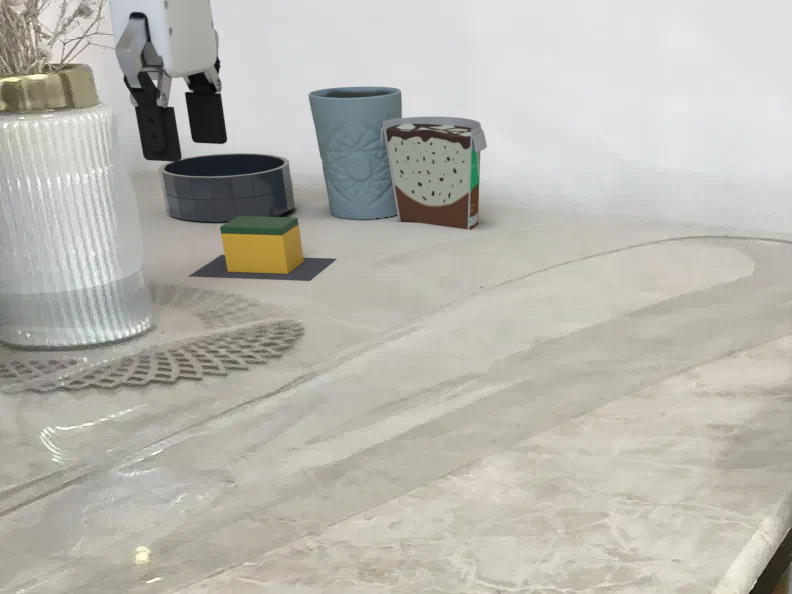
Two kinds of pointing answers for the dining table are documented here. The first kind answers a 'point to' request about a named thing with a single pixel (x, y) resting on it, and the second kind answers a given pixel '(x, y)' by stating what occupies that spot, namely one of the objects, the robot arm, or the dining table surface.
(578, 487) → the dining table surface
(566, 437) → the dining table surface
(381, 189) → the blue embossed cup
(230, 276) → the mat
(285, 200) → the bowl
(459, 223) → the food container
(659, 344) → the dining table surface
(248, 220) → the sponge
